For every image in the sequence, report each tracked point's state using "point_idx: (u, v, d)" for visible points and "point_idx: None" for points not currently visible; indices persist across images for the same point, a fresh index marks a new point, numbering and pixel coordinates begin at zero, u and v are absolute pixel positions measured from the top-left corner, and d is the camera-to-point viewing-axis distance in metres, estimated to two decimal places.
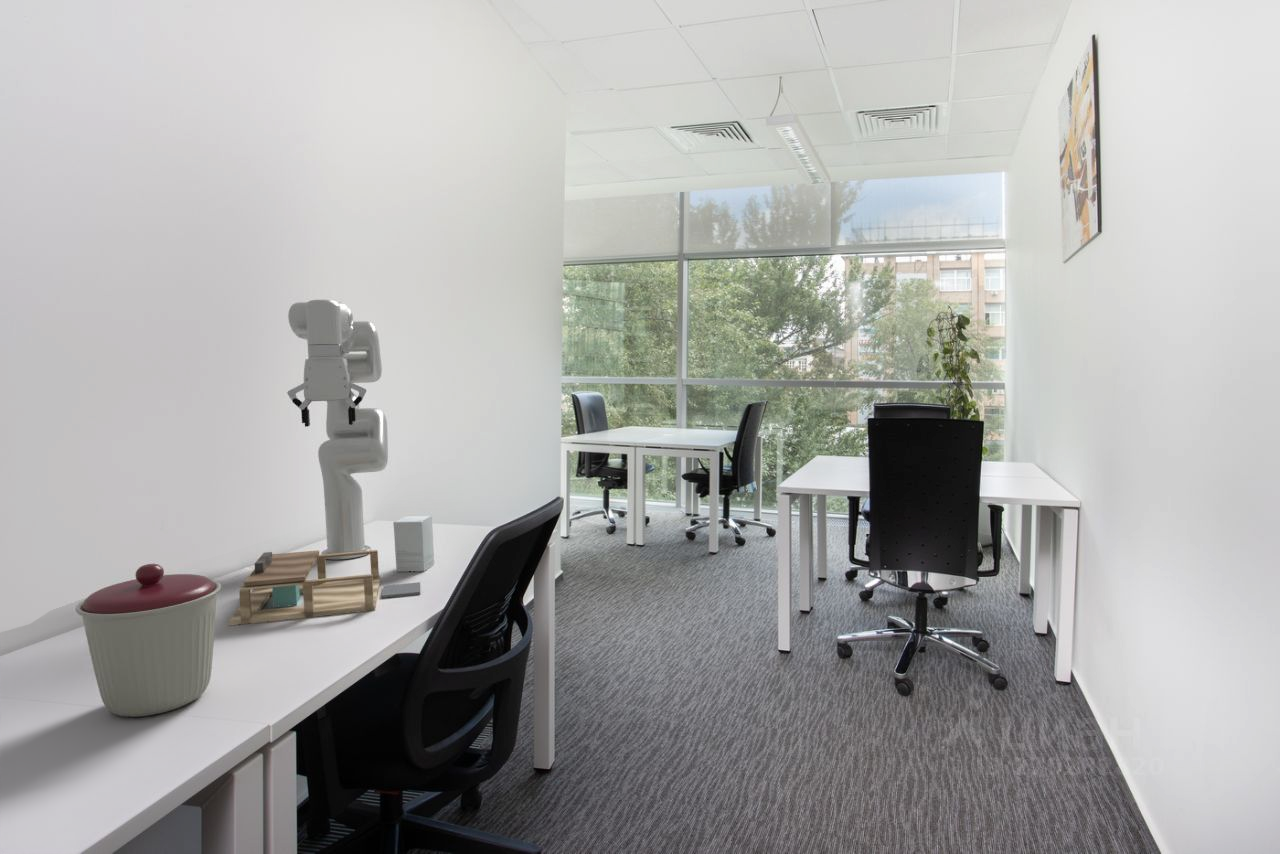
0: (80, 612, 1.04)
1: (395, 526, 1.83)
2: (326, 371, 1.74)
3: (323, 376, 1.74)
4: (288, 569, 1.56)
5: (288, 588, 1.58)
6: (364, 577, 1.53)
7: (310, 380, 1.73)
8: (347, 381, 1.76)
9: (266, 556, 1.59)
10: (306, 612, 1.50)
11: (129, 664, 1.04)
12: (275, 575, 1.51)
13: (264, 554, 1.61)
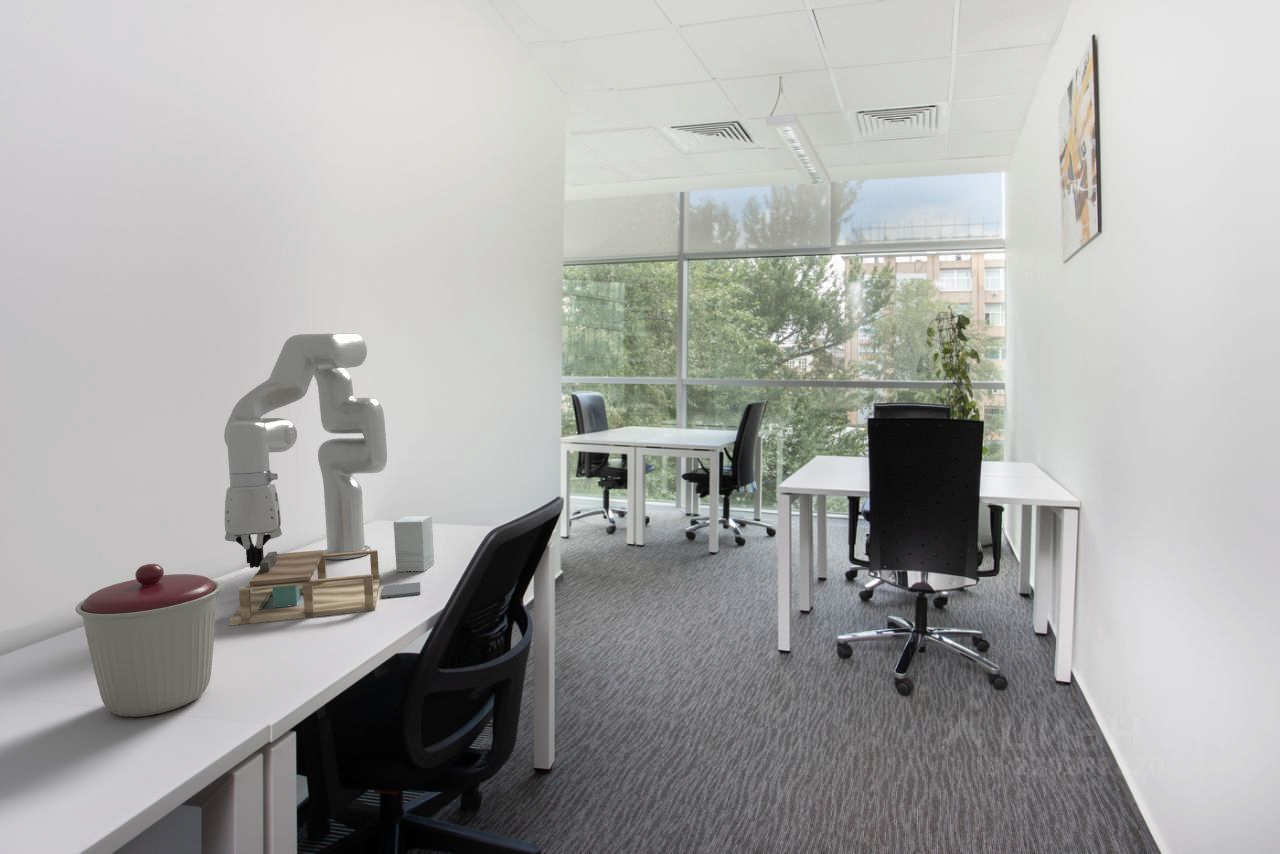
0: (80, 612, 1.04)
1: (395, 526, 1.83)
2: (250, 502, 1.55)
3: (247, 508, 1.55)
4: (293, 569, 1.56)
5: (288, 588, 1.58)
6: (364, 577, 1.53)
7: (232, 513, 1.54)
8: (274, 512, 1.57)
9: (271, 556, 1.60)
10: (306, 612, 1.50)
11: (129, 664, 1.04)
12: (280, 575, 1.52)
13: (269, 554, 1.61)
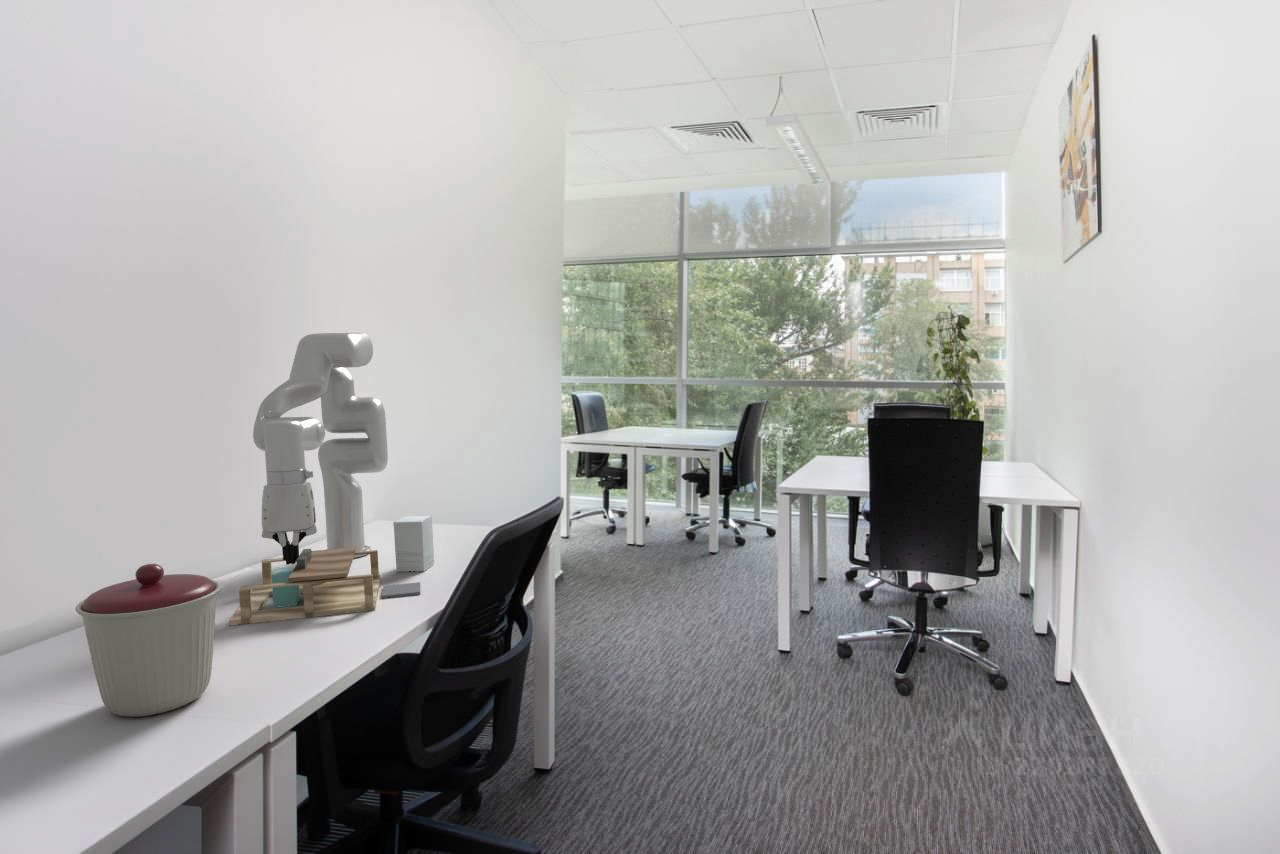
0: (80, 612, 1.04)
1: (395, 526, 1.83)
2: (287, 499, 1.57)
3: (284, 506, 1.57)
4: (329, 565, 1.58)
5: (288, 588, 1.58)
6: (364, 577, 1.53)
7: (269, 510, 1.56)
8: (310, 509, 1.59)
9: (306, 553, 1.62)
10: (306, 612, 1.50)
11: (129, 664, 1.04)
12: (317, 571, 1.54)
13: (304, 551, 1.63)
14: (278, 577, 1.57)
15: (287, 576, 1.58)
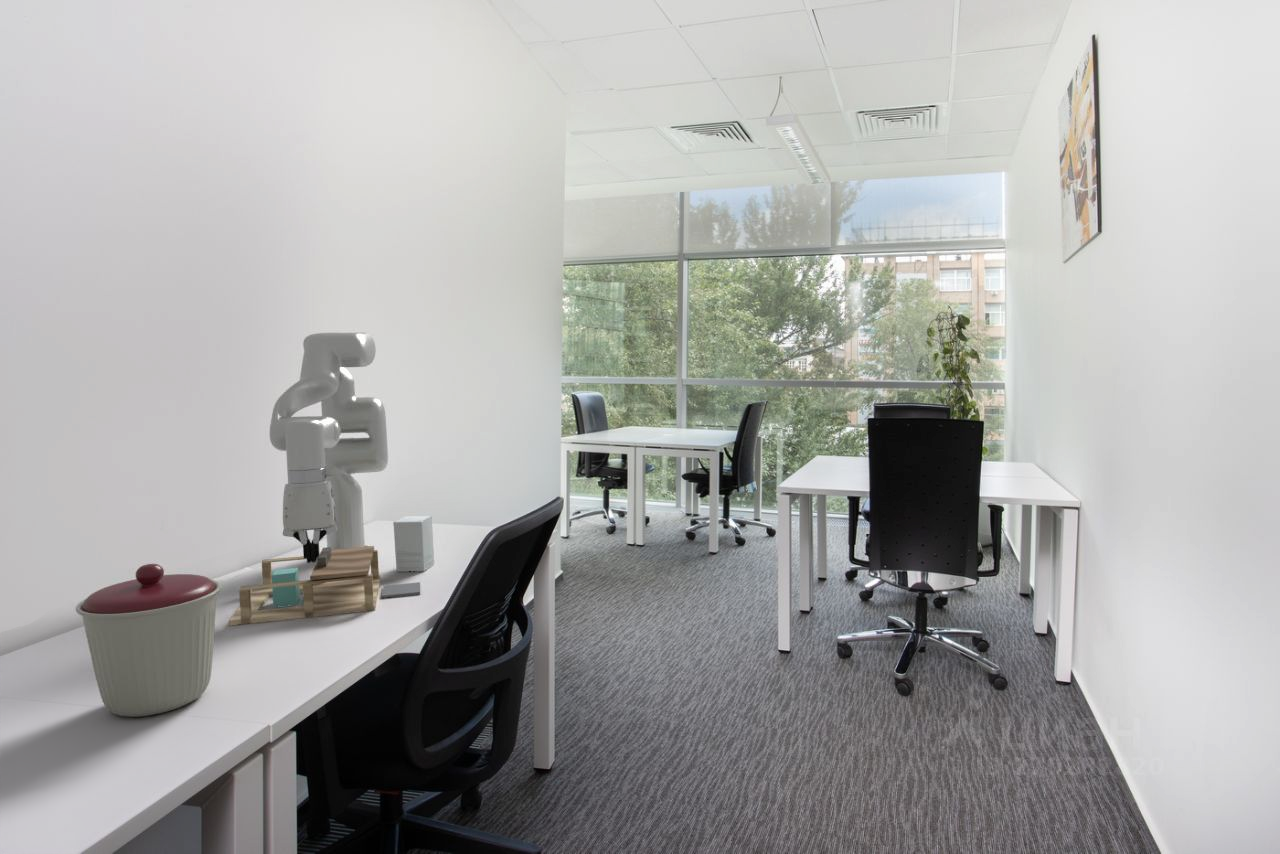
0: (80, 612, 1.04)
1: (395, 526, 1.83)
2: (308, 498, 1.58)
3: (305, 504, 1.58)
4: (349, 563, 1.59)
5: (288, 588, 1.58)
6: (364, 577, 1.53)
7: (290, 508, 1.57)
8: (331, 508, 1.60)
9: (326, 551, 1.63)
10: (306, 612, 1.50)
11: (129, 664, 1.04)
12: (338, 569, 1.55)
13: (324, 549, 1.65)
14: (278, 577, 1.57)
15: (287, 576, 1.58)
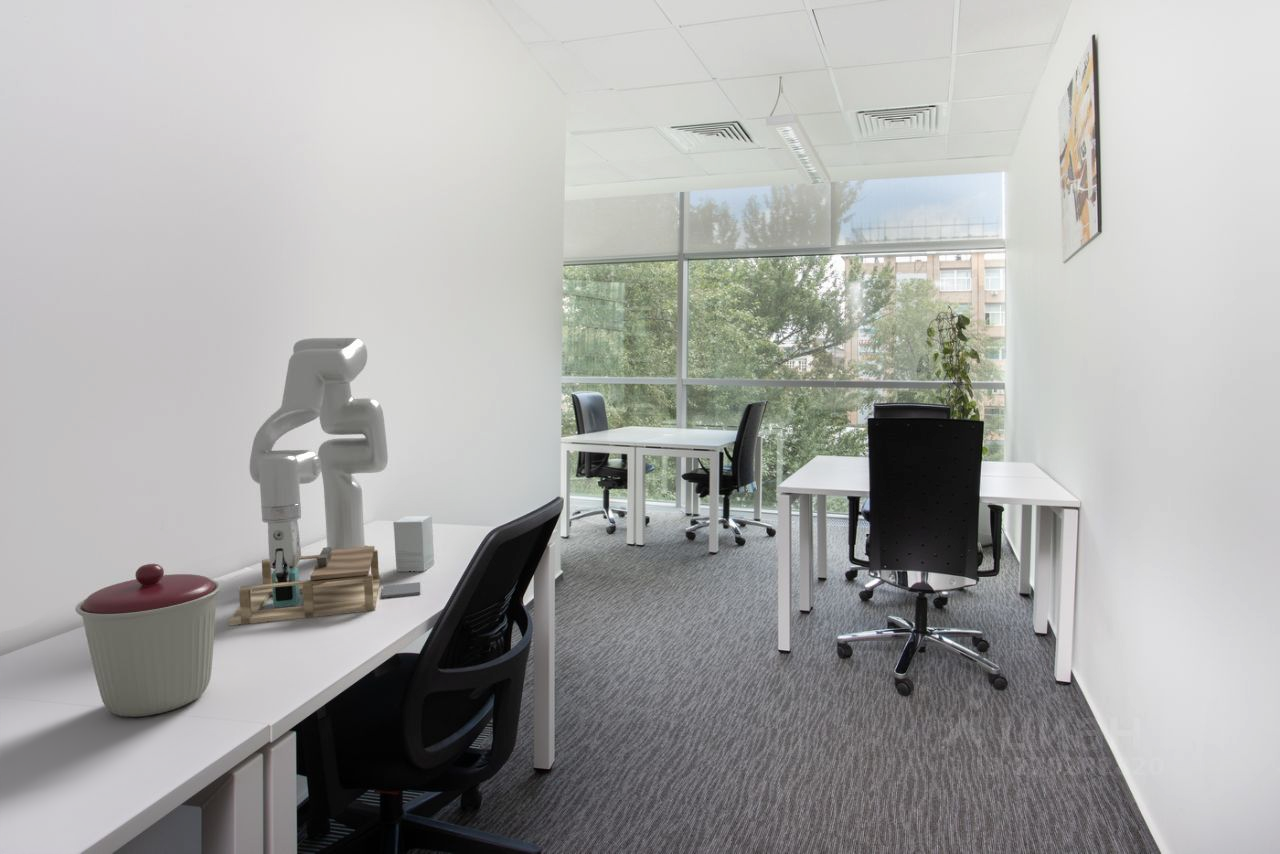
0: (80, 612, 1.04)
1: (395, 526, 1.83)
2: None
3: None
4: (350, 563, 1.59)
5: None
6: (364, 577, 1.53)
7: None
8: (269, 549, 1.54)
9: (327, 551, 1.63)
10: (306, 612, 1.50)
11: (129, 664, 1.04)
12: (339, 569, 1.55)
13: (324, 549, 1.65)
14: None
15: None
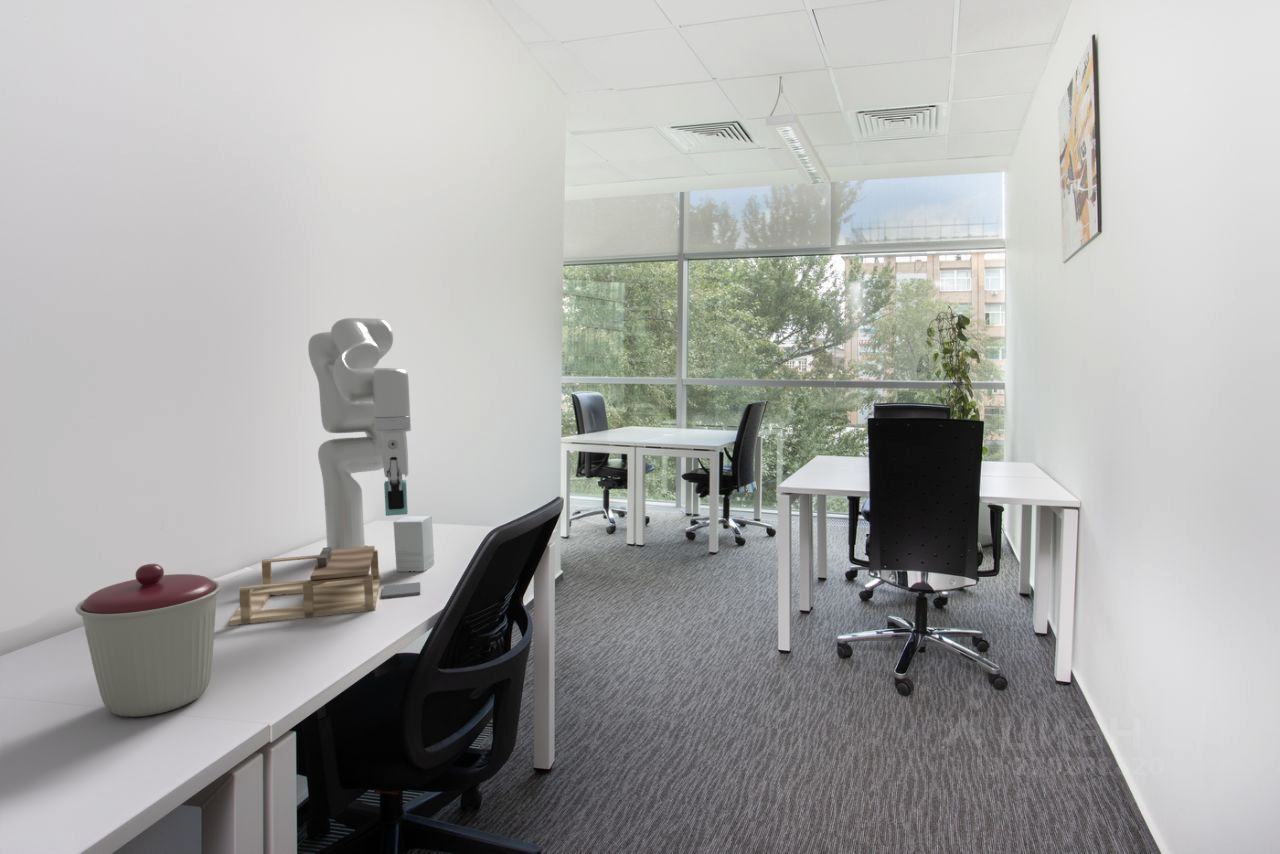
0: (80, 612, 1.04)
1: (395, 526, 1.83)
2: None
3: None
4: (350, 563, 1.59)
5: None
6: (364, 577, 1.53)
7: None
8: (384, 458, 1.60)
9: (327, 551, 1.63)
10: (306, 612, 1.50)
11: (129, 664, 1.04)
12: (339, 569, 1.55)
13: (324, 549, 1.65)
14: None
15: None
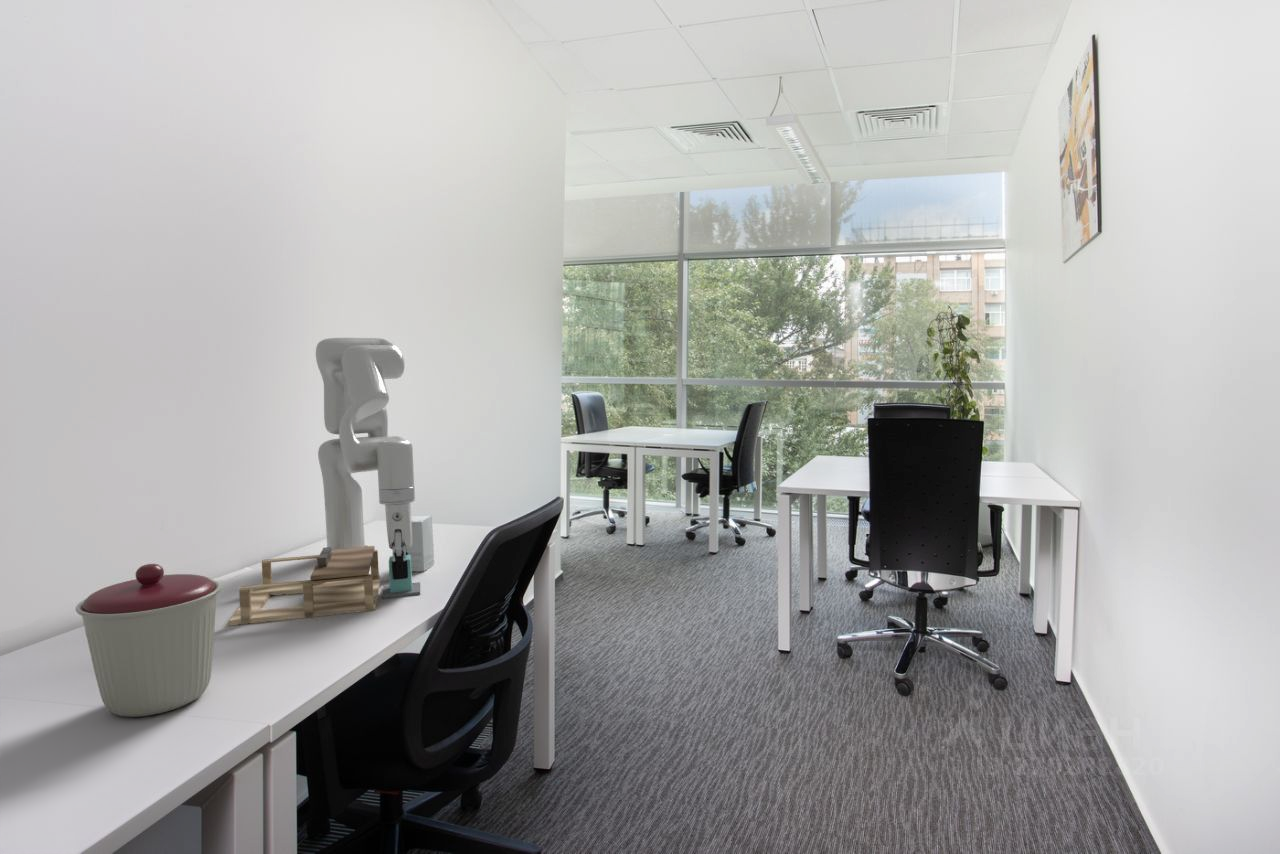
0: (80, 612, 1.04)
1: None
2: None
3: None
4: (350, 563, 1.59)
5: None
6: (364, 577, 1.53)
7: None
8: (388, 530, 1.61)
9: (327, 551, 1.63)
10: (306, 612, 1.50)
11: (129, 664, 1.04)
12: (339, 569, 1.55)
13: (324, 549, 1.65)
14: None
15: None
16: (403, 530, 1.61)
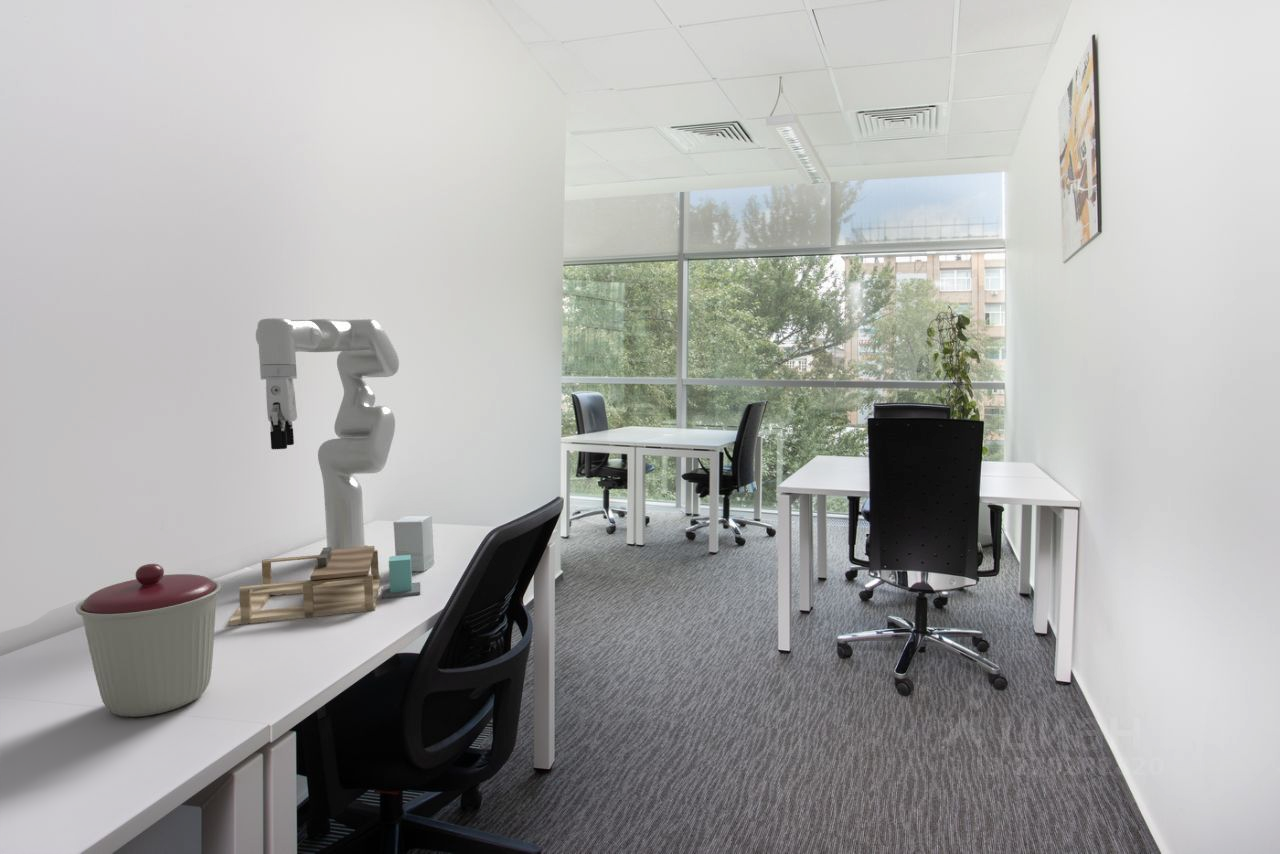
0: (80, 612, 1.04)
1: (395, 526, 1.83)
2: None
3: None
4: (350, 563, 1.59)
5: (404, 574, 1.65)
6: (364, 577, 1.53)
7: None
8: (267, 403, 1.67)
9: (327, 551, 1.63)
10: (306, 612, 1.50)
11: (129, 664, 1.04)
12: (339, 569, 1.55)
13: (324, 549, 1.65)
14: (394, 563, 1.64)
15: (403, 562, 1.65)
16: (282, 403, 1.67)
